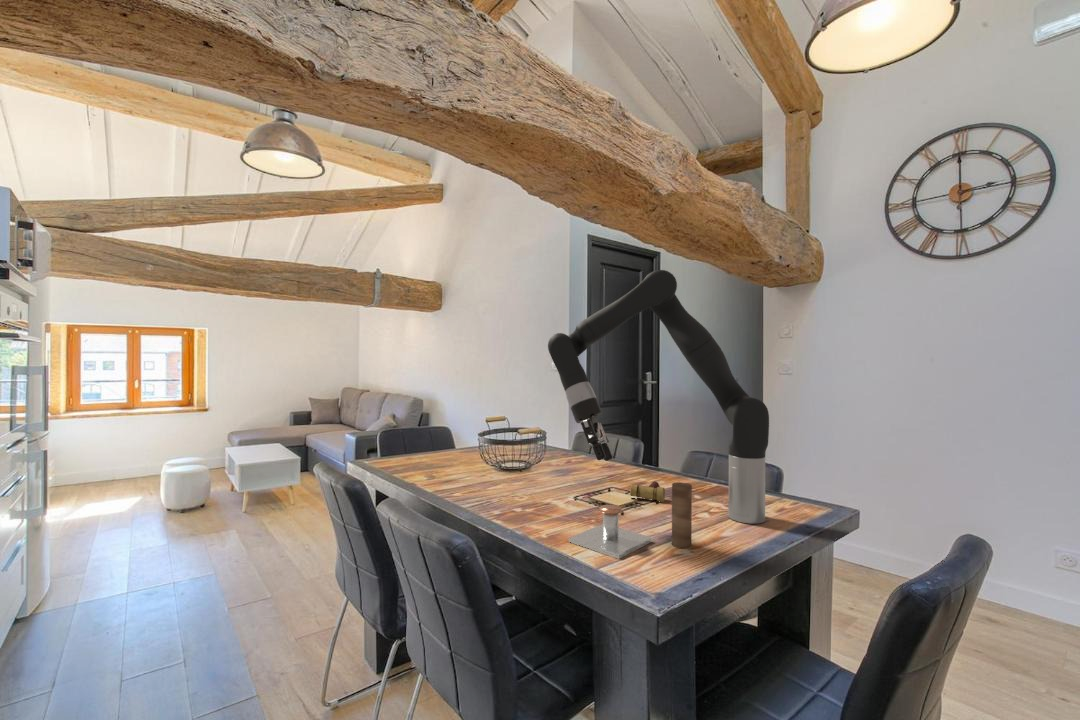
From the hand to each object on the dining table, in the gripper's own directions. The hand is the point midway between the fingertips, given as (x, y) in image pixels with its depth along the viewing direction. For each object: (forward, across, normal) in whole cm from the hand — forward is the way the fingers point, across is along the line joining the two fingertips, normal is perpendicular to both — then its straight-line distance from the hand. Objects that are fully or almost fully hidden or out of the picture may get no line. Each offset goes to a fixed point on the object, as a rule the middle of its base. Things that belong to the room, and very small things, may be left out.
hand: (605, 459), depth 125 cm
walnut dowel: (+25, -2, -10) cm, 27 cm away
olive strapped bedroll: (+12, +40, -2) cm, 42 cm away
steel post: (+19, -6, +5) cm, 20 cm away
